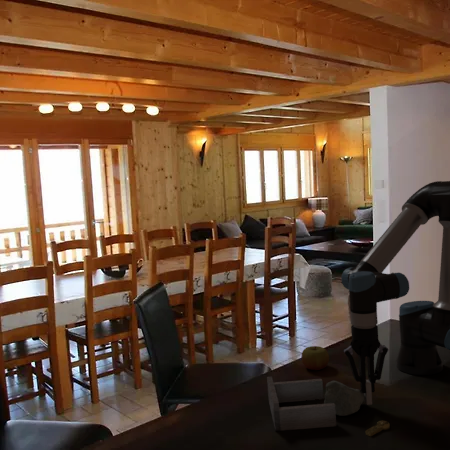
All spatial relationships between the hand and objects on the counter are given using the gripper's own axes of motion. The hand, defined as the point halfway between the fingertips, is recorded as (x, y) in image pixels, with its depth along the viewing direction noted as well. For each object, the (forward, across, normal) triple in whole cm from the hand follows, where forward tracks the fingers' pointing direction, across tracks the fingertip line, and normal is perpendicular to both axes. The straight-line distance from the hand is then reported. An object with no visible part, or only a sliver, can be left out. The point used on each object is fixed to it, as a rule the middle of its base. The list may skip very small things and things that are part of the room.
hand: (368, 402), depth 151 cm
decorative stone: (+2, +7, 0) cm, 7 cm away
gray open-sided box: (+2, +20, 0) cm, 20 cm away
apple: (+2, +9, -34) cm, 35 cm away
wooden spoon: (+2, +1, +13) cm, 14 cm away
